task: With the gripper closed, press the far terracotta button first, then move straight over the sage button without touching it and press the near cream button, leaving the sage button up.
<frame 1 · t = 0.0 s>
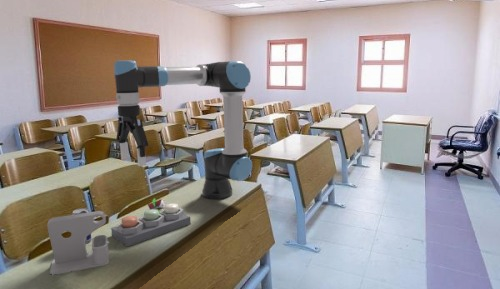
hand: (133, 162, 133), 28 cm above the table, tool pointing down, fingers open, 13 cm apart
button board: (152, 229, 141), on the table
terracotta button: (129, 221, 134), point 6 cm above the table, slide at 0.0 cm
cream button: (171, 208, 146), point 6 cm above the table, slide at 0.0 cm
energy drink: (83, 242, 132), on the table
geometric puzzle: (157, 213, 158), on the table
sage button: (151, 214, 140), point 6 cm above the table, slide at 0.0 cm
phone holder: (81, 263, 117), on the table
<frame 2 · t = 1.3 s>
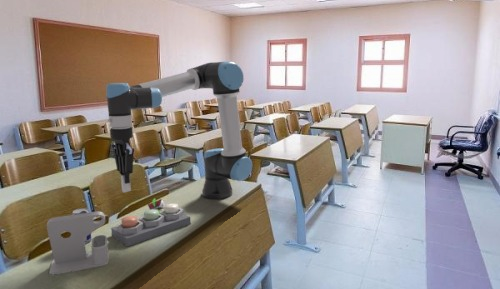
hand: (126, 191, 131), 18 cm above the table, tool pointing down, fingers closed
nothing on the table moved.
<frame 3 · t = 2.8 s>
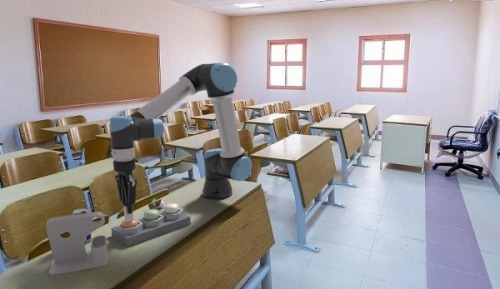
hand: (129, 220, 134), 6 cm above the table, tool pointing down, fingers closed
terracotta button: (129, 224, 134), point 5 cm above the table, slide at 1.1 cm, touching gripper
everything else where it was.
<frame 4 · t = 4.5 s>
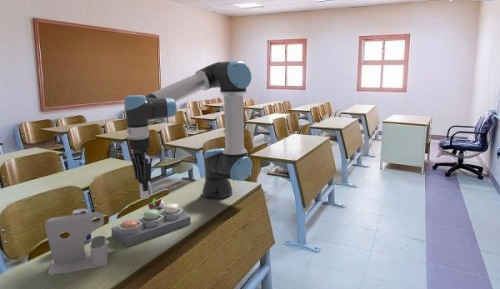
hand: (145, 198, 137), 13 cm above the table, tool pointing down, fingers closed
terracotta button: (129, 225, 134), point 4 cm above the table, slide at 1.6 cm
everything else where it was.
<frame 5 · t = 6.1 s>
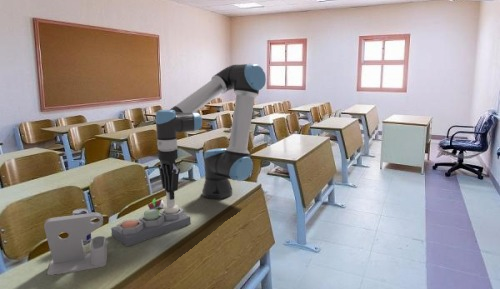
hand: (170, 206, 146), 7 cm above the table, tool pointing down, fingers closed
cream button: (171, 209, 146), point 6 cm above the table, slide at 0.4 cm, touching gripper
everything else where it was.
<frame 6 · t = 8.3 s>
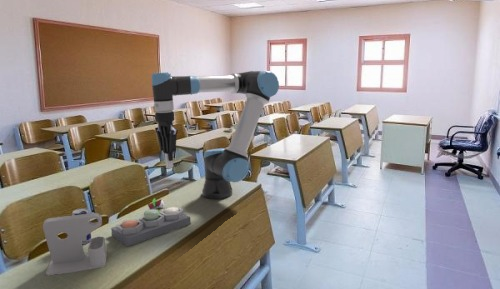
hand: (169, 167, 150), 21 cm above the table, tool pointing down, fingers closed
cream button: (171, 212, 146), point 4 cm above the table, slide at 1.6 cm
everything else where it was.
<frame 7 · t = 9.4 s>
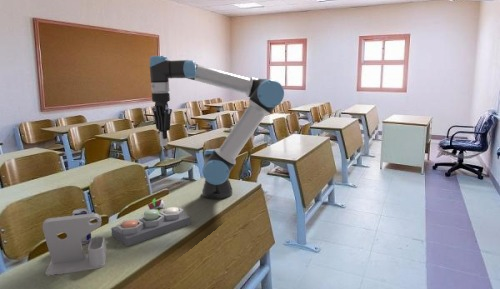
hand: (164, 145, 161), 28 cm above the table, tool pointing down, fingers closed
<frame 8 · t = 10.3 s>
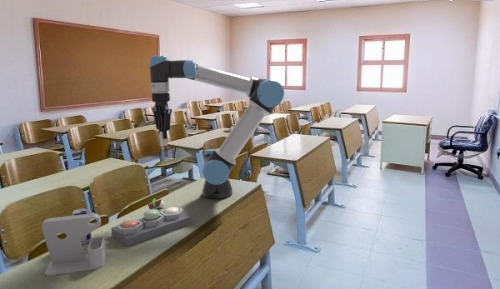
hand: (164, 145, 161), 28 cm above the table, tool pointing down, fingers closed
at the end: terracotta button slide at 1.6 cm; cream button slide at 1.6 cm; sage button slide at 0.0 cm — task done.
